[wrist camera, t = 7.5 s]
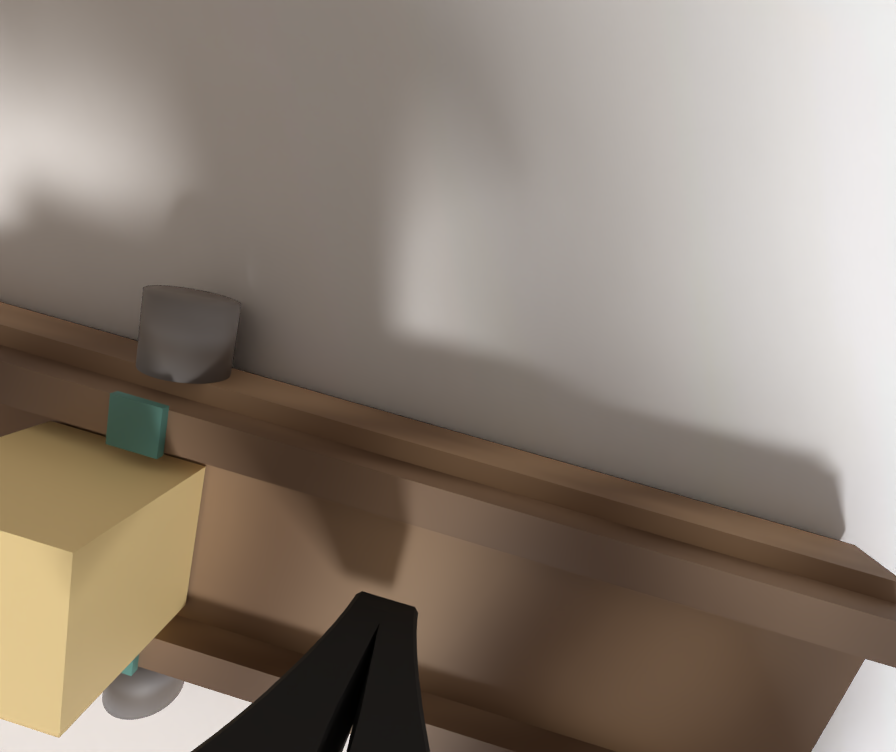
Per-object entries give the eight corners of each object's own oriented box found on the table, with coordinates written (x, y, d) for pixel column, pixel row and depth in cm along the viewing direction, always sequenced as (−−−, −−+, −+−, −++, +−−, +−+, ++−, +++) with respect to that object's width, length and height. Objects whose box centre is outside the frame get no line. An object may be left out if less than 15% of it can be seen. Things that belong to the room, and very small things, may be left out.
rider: (205, 466, 11) (73, 553, 7) (185, 604, 12) (58, 737, 8) (51, 420, 11) (-148, 484, 8) (43, 560, 12) (-138, 673, 9)
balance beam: (888, 480, 11) (1003, 538, 8) (703, 826, 14) (749, 946, 11) (-102, 205, 12) (-255, 187, 10) (-92, 575, 15) (-210, 634, 12)
